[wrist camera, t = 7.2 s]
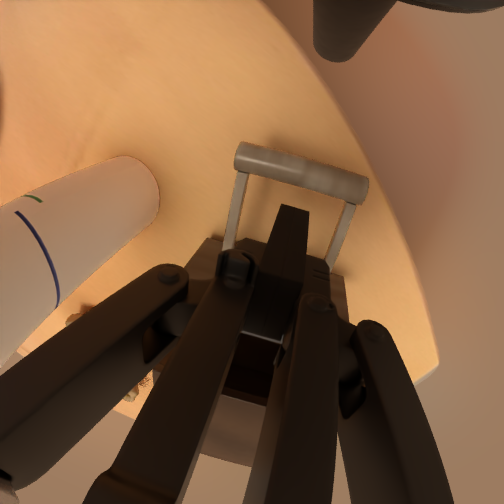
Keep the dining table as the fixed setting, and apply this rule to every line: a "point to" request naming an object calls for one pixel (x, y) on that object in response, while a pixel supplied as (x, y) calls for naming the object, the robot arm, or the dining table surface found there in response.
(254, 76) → the dining table surface
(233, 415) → the cabinet
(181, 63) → the dining table surface
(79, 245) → the cylindrical container
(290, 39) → the dining table surface
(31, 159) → the dining table surface
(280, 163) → the drawer
